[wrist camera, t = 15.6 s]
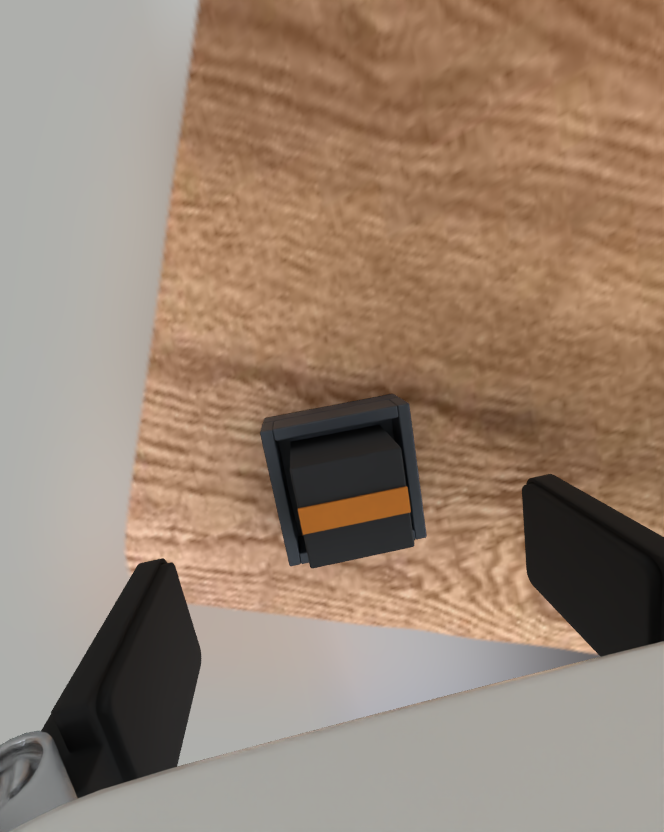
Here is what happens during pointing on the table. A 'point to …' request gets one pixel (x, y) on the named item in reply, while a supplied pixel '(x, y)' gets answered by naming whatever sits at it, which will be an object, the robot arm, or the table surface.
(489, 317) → the table surface
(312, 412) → the open box
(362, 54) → the table surface
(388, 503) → the black orange striped cube
